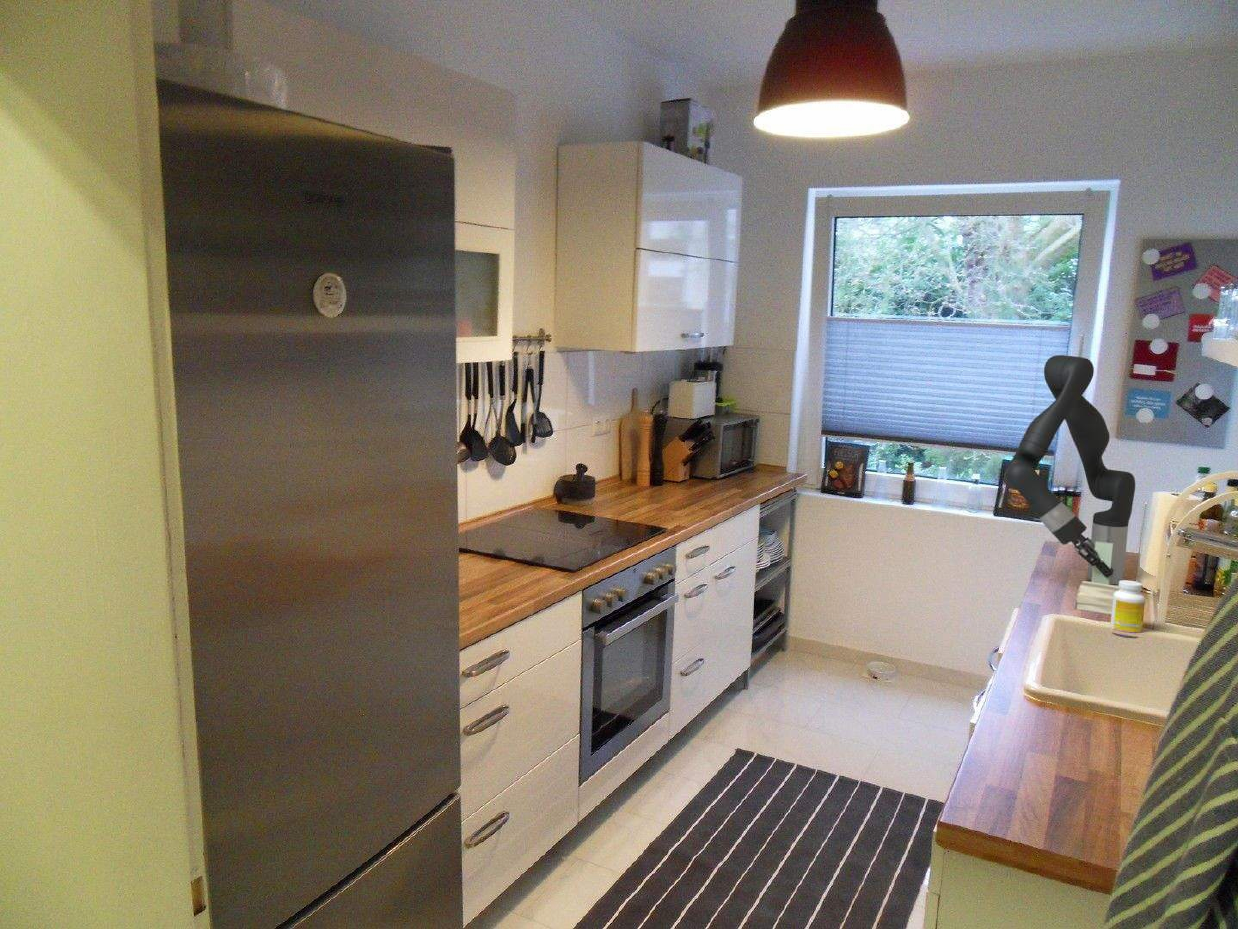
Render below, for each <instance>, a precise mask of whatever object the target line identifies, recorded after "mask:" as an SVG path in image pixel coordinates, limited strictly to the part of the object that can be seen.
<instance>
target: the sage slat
mask: <svg viewBox="0 0 1238 929" xmlns="http://www.w3.org/2000/svg"><path fill="white" fill-rule="evenodd" d="M1112 549H1113V543H1104V542H1095V550H1096V551H1097V552H1098V556H1099V557H1100V558H1101V559H1102V560H1103V562H1104V563H1105V564H1106V565H1107V566H1108V567H1109V568H1110V569H1111V560H1112ZM1094 560H1095V558H1094ZM1109 580H1110V576H1109V577H1105V576H1104V575H1103V574H1102V573H1101V572H1100V571H1099V570H1098V568H1097V567H1095V566H1093V572H1092V581H1091V582H1094V583H1101V584H1107V585H1110V584H1109Z"/></svg>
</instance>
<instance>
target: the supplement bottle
mask: <svg viewBox="0 0 1238 929" xmlns="http://www.w3.org/2000/svg"><path fill="white" fill-rule="evenodd" d="M1142 586H1143V584H1142V583H1140V582H1138V581H1135V580H1125V579H1123V580H1121V581H1119V588H1120V589H1119V591H1116V592H1115V593H1114V594H1113V603H1112V613H1111V615H1110V625H1109V628H1111V629H1112V630H1114V631H1118V632H1121V633H1116V632H1112V634H1113V635H1114V636H1116V637H1121V638H1125V639H1138V638H1140V636H1135V635H1128V634H1141V633H1142V632H1143V625H1144V624H1143V623H1144V613H1145V605H1146V604H1145V603H1146V598H1145V596H1144V595H1143V594H1142V593H1141V590H1142ZM1122 633H1127V634H1122Z"/></svg>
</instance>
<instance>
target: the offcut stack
mask: <svg viewBox="0 0 1238 929" xmlns="http://www.w3.org/2000/svg"><path fill="white" fill-rule="evenodd" d="M1119 589H1120V588H1119V586H1117V585H1115V584H1109V585H1107V584H1101V583H1094V582H1092V581H1086V580H1083V581H1081V584H1080V585H1079V588H1078V589H1077V596H1076V598H1077V599H1076V601H1077V602H1078V604H1077V609H1080V610H1079V611H1083V610H1087V611H1086V612H1090V611H1093V612H1092V613H1096V612H1100V613H1099V614H1103V613H1106V614H1105V615H1109V614H1111V613H1112V603H1113V594H1114V593H1115V592H1116V591H1119ZM1077 609H1076V610H1077Z"/></svg>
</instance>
